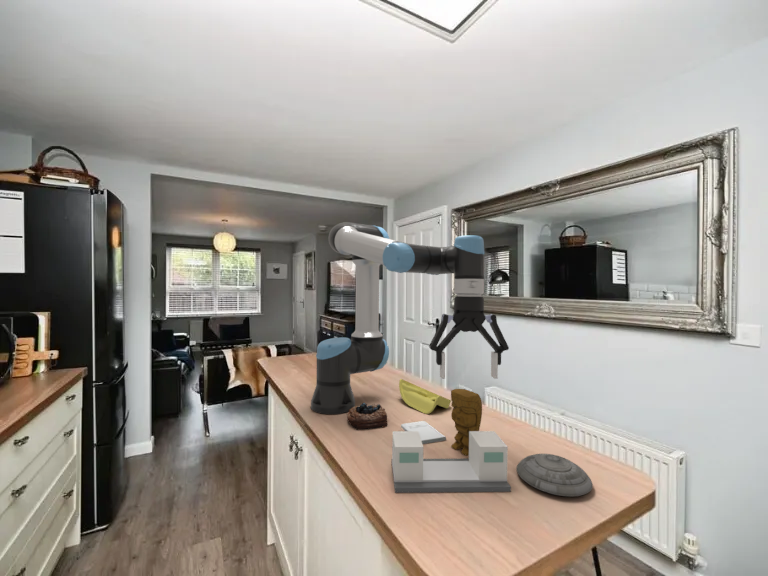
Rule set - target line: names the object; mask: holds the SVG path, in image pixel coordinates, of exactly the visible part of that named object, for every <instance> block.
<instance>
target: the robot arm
mask: <svg viewBox="0 0 768 576" xmlns="http://www.w3.org/2000/svg"><path fill="white" fill-rule="evenodd" d="M328 233H329V234H328V244H329V246H330V248H331V249H332V250H333V251H334V252H336V253H337V254H341V255H343V256H351V262H352V263H353V264H354V265H355V326H354V327H355V329H354V331H353V332H352V333H351V334H350V335H351V337H350V338H349V337H345V336H344V337H343V336H342V337H332V338H328V339H324V340H322V341H320V342H319V343H318V345H317V347H316V355H315V357H316V382H315V383H316V384H315V385H316V386H315V388H314V392H313V395H312V397H311V400H310V408H311V411H313V412H315V413H317V414H323V415H340V414H344V413H349V410H350V409H351V408H352V407H356V398H355V396H354V392H353V388H352V386H351V375H353V374H361V373H366V372H370V373H371V372H375V371H377V370H378V371H379V370H381V369H382V368H384V366H385V365H386V364H387V362H388V360H389V357H390V349H389V345H388V342H387V340H385V339H384V338H383V334H382V333H381V331H380V330H379V327H380V326H379V324H380V323H379V322H380V321H379V319H380V318H379V314H380V313H379V312H380V311H379V310H380V308H379V307H380V303H379V301H380V266H381V265H383V266H384V267H385V269H387V271H389V272H394V273H398V274H399V273H400V274H403V273H407V274H408V273H413V274H427V275H432V276H433V275H435V276H438V275H439V276H440V275H449V274H454V275H453V276H454V278H453V285H454V290H453V293H454V295H456V296H454V298H453V303H454V305H453V314H452V315H451V314H446V313H443V314H441V319H440V320H441V321H440V323H439V326H438V327H437V329H436V331H435V333H434V335H433V338H432V339H431V341H430V343H429V346H428V347H429V349H430V350H431V351H433V352H435V353H436V354H435V362H436V365H438V366H439V377H440V378H441V380H442V379H444V380H445V379H446V352H444V350H445V349H446V348H447V346H448V345H449V344H450V343H451V342H452V341H453V339H454V338H455V337H456V336H457V335H458V334H460V333H461V332H463V333H468V332H472V333H473V332H474V333H476V332H478V333H479V334H480V335H481V336H482V337H483V338H484V340H485V341H486V342H487V343H488V345H489V346H490V347H491V348H492V349H493V350H494V351H490V376H491V378H493V379H494V380H496V379H498V378H499V377H498V375H499V373H498V371H499V369H498V366H500V365H501V364H502V353H503V352H504V351H508V350H509V349H510V348H509V347H510V346H509V345H508V343H507V341H506V339H505V337H504V335H503V332H502V331H501V329H500V327H499V324H498V321H497V315H496V314H494V313H493V314H492V313H489V314H486V315H485V311H484V310H485V308H484V307H485V297H483V296H482V295H484V293H485V292H484V291H485V276H484V269H485V254H486V251H485V243H484V242H485V241H484V238H483V237H482V236H480V235H473V234H470V235H469V234H468V235H459V236H456V237H455V239H454V244H453V245H451V246H432V245H431V246H430V245H422V244H421V245H420V244H414V243H407V242H402V241H398V240H395V239H391V238H390V235H389V234H388V232H387V230H385V229H384V228H383V227H381V226H376V225H374V224H365V223H364V224H363V223H359V222H357V223H356V222H351V221H350V222H349V221H343V222H340V223H337V224H336V225H334V226H333V227H332V228H331V229H330V231H329V232H328ZM451 321H453V322H454V325H453V326H452V328H451V330H449V332H448V333H447V334H446V336H445V337H444V338H443V339H442V340H441V338H442V336H443V334H444V332H445V330H446V329H447V326H448V324H449V323H450V322H451ZM485 321H486V322H487V323H488V324H489V326H490V327H491V330H492V332H493V334H494V336H495V339H496V340H497V342H498V343H497V342H496V341H495V339H494V338H493V337H492V336H491V335H490V333H489V332H488V331H487V329H486V327H484V326H483V324H484V323H485ZM440 340H441V341H440ZM498 344H499V345H498Z"/></svg>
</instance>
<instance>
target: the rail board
mask: <svg viewBox="0 0 768 576" xmlns="http://www.w3.org/2000/svg"><path fill="white" fill-rule="evenodd" d="M391 436H392V440H391V441H392V443H391V444H392V446H391V448H392V449H391V450H392V451H391V453H392V454H391V456H392V457H391V468H392V478H393V480H392V481H393V486H394V493H396V494H397V493H401V494H402V493H409V494H411V493H412V494H413V493H497V492H498V493H500V492H501V493H503V492H506V493H511V492H512V486H511V485H510V483H509V482H508V456H509V455H508V452H509V451H508V450H509V448H508V447H509V446H508V445H507V444H506V443H505V442H504V440H502V438H501V437H500V436H499V434H497V432H496V431H495V430H479V431H469V455H468V458H424V444H422V441H421V438H420V435H419V432H418V431H405V430H400V431H399V430H398V431H396V430H395V431H394V430H393V431H392V435H391Z"/></svg>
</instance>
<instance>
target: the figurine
mask: <svg viewBox="0 0 768 576" xmlns="http://www.w3.org/2000/svg"><path fill="white" fill-rule="evenodd" d="M450 400H451V402H450V405H451V407H452V410H451V416H450V417H451V419H452V421H453V423H454V428H455V430H456V431H457V433H456V434H455V436H454V439H455V442H453V443H452V445H451V446H450V447H451V448H452V450H454V451H456V450H460V449H462V450H461V451H460V452H461V455H463V456H465V457H466V456H469V431H480V428H481V423H482V415H483V403H482V402H483V401H482V398H481V396H480V394H478V393H476V392H474V391H472V390H467V389H465V388H455V389H452V390H450Z"/></svg>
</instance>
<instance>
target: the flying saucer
mask: <svg viewBox="0 0 768 576" xmlns="http://www.w3.org/2000/svg"><path fill="white" fill-rule="evenodd" d="M515 470H516V472H517V475H518V476H519V477H520V479H522V480H523V481H524V482H525V483H527V484H528V485H529V486H531V487H533V488H535V489H537V490H539V491H542V492H544V493H548V494H551V495H555V496H559V497H560V496H562V497H579V496H583V495H586V494H589V493H590V492H591V491H592V489H593V487H594V486H593V482H592V479H591V478H590V476H589V475H588V473H587V472H585V470H584V469H583V468H582V467H580V466H579V465H578V464H576V463H575V462H573V461H571V460H569V459H567V458H565V457H563V456H560V455H556V454H551V453H534V454H530V455H528V456H526V457H524V458H522V459H521V460H520V461H519V462H518V463H517V465H516V469H515Z"/></svg>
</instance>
